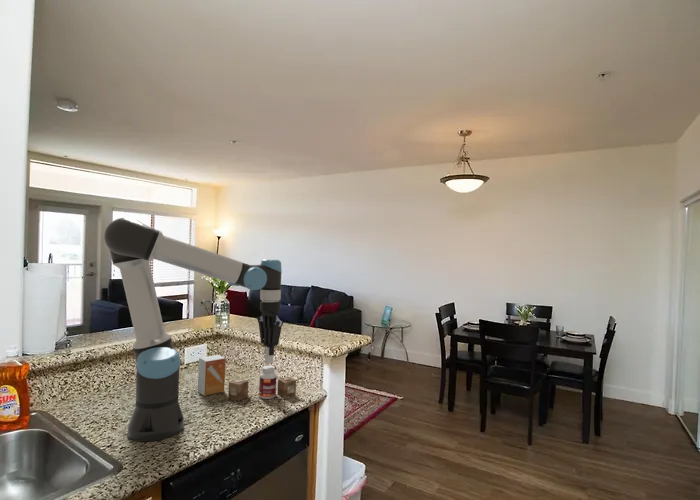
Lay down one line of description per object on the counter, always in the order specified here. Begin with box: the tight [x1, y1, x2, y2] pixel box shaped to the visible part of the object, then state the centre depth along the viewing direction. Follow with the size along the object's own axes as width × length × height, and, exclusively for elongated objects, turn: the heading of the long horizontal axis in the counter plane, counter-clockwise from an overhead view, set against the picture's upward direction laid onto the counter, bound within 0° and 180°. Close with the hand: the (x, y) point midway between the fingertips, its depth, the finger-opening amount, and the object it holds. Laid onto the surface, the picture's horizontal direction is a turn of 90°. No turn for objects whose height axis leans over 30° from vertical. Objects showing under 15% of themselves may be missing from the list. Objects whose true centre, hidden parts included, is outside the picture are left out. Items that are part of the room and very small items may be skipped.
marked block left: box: [227, 377, 249, 402], centre depth 146 cm, size 5×5×6 cm
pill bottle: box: [258, 365, 277, 400], centre depth 148 cm, size 6×6×11 cm
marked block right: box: [277, 376, 297, 399], centre depth 150 cm, size 5×5×6 cm
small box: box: [197, 354, 226, 397], centre depth 151 cm, size 8×6×13 cm
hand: (269, 363), depth 148 cm, fingers closed
